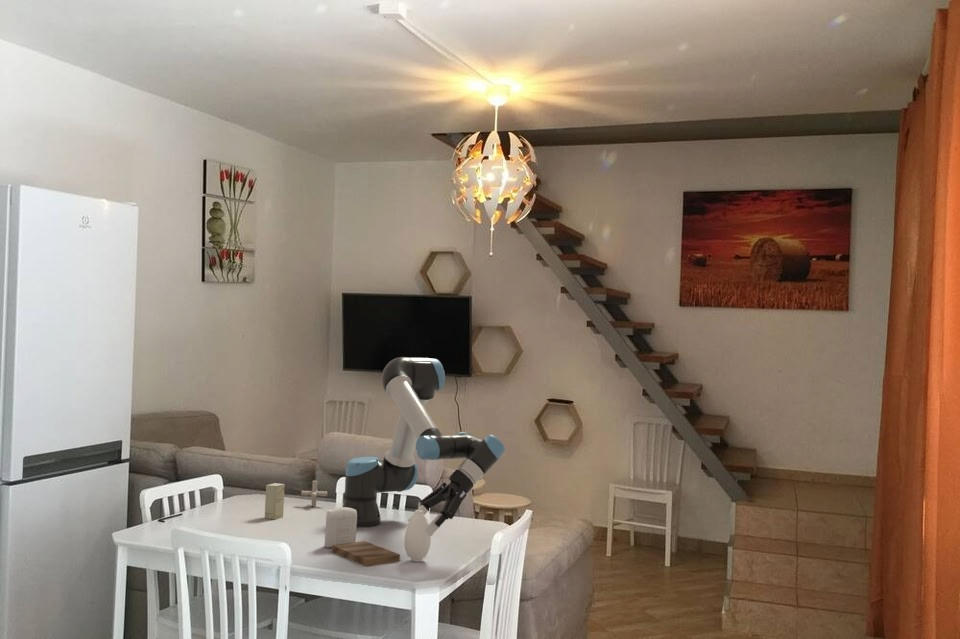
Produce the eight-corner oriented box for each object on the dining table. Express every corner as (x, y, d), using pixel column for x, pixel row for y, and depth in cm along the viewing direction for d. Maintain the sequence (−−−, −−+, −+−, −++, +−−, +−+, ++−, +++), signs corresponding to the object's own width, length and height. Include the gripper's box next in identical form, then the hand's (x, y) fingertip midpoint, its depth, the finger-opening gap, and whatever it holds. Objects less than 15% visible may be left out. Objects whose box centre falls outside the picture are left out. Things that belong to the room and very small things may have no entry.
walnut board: (331, 551, 265) (331, 545, 265) (364, 547, 273) (364, 540, 273) (366, 566, 250) (366, 559, 250) (399, 561, 257) (400, 554, 257)
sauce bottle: (409, 556, 263) (412, 498, 264) (433, 559, 261) (435, 500, 261) (399, 562, 256) (402, 502, 256) (424, 565, 253) (427, 505, 254)
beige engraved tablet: (352, 543, 277) (354, 505, 277) (357, 546, 273) (359, 507, 274) (322, 545, 272) (324, 507, 272) (326, 548, 268) (328, 509, 269)
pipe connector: (302, 503, 339) (303, 478, 340) (327, 504, 340) (328, 479, 341) (299, 508, 329) (300, 482, 330) (325, 509, 330) (326, 483, 331)
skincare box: (274, 519, 307) (276, 486, 308) (263, 518, 309) (265, 484, 309) (283, 516, 313) (285, 483, 314) (273, 515, 315) (275, 482, 315)
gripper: (491, 491, 254) (443, 545, 247) (456, 478, 277) (411, 527, 270) (475, 474, 252) (427, 528, 245) (442, 462, 275) (396, 511, 268)
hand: (418, 528), depth 257 cm, fingers open, 13 cm apart
